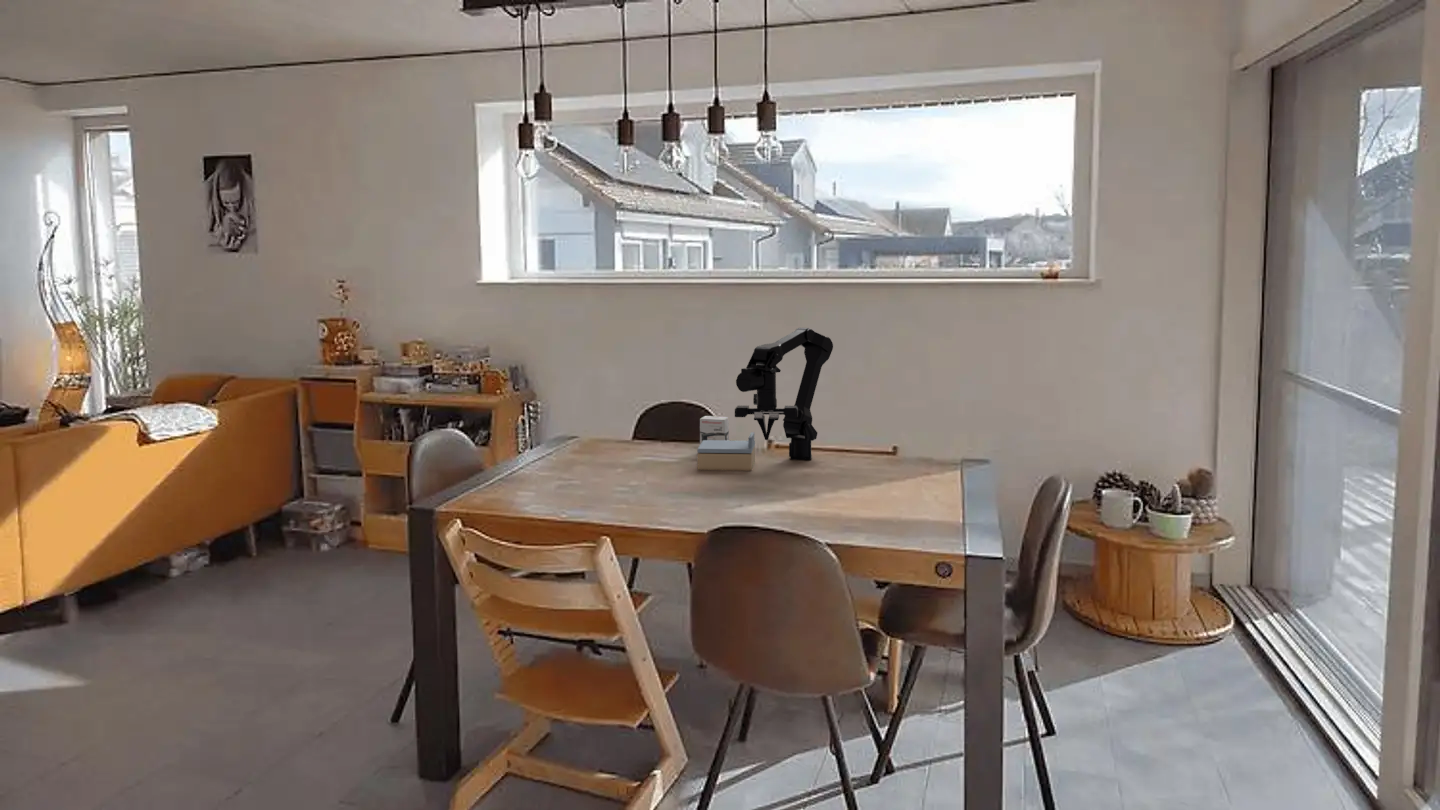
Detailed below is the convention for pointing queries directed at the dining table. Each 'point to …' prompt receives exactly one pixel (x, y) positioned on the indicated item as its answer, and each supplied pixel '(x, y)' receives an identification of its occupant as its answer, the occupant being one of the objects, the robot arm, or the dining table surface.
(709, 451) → the lid
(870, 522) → the dining table surface
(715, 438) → the ink box
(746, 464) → the tan shallow open box
